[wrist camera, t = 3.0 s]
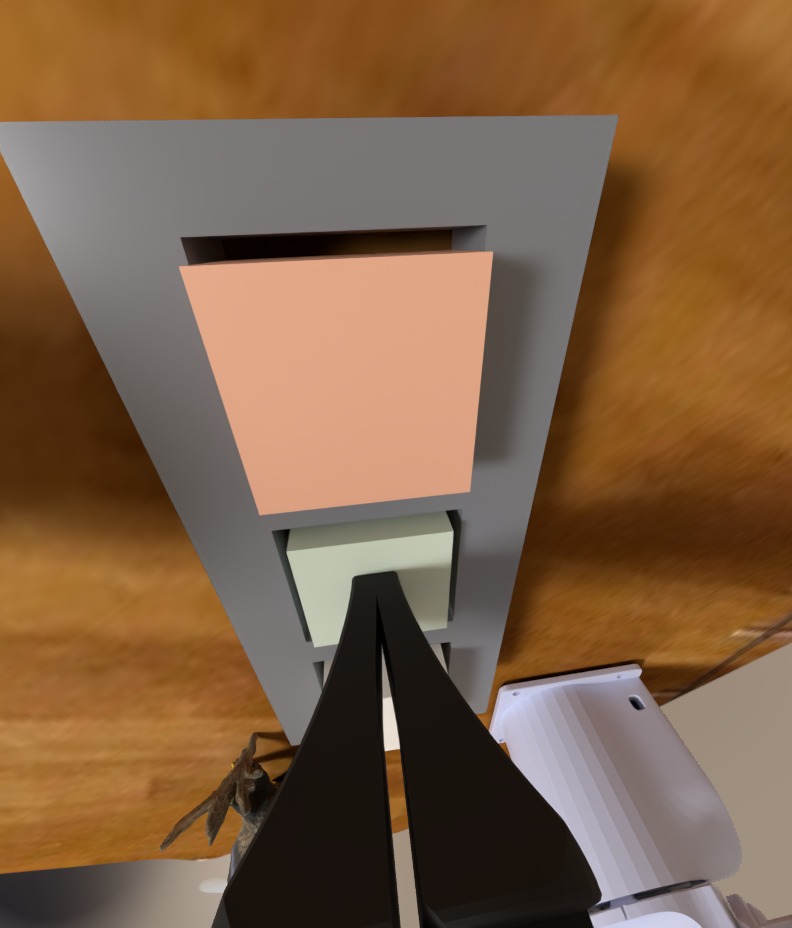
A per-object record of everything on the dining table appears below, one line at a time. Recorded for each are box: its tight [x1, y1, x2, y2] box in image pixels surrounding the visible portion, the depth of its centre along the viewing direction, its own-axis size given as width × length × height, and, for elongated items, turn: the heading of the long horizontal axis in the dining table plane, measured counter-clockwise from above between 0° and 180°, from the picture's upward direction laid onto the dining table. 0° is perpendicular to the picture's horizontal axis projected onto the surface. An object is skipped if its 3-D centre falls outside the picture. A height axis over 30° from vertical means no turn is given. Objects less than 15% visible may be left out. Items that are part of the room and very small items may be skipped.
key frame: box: [0, 115, 619, 746], centre depth 13 cm, size 10×23×2 cm, turn 2°
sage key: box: [286, 511, 454, 647], centre depth 12 cm, size 5×5×3 cm
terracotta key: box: [179, 250, 493, 515], centre depth 8 cm, size 5×5×3 cm
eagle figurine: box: [160, 733, 282, 883], centre depth 21 cm, size 8×7×9 cm
